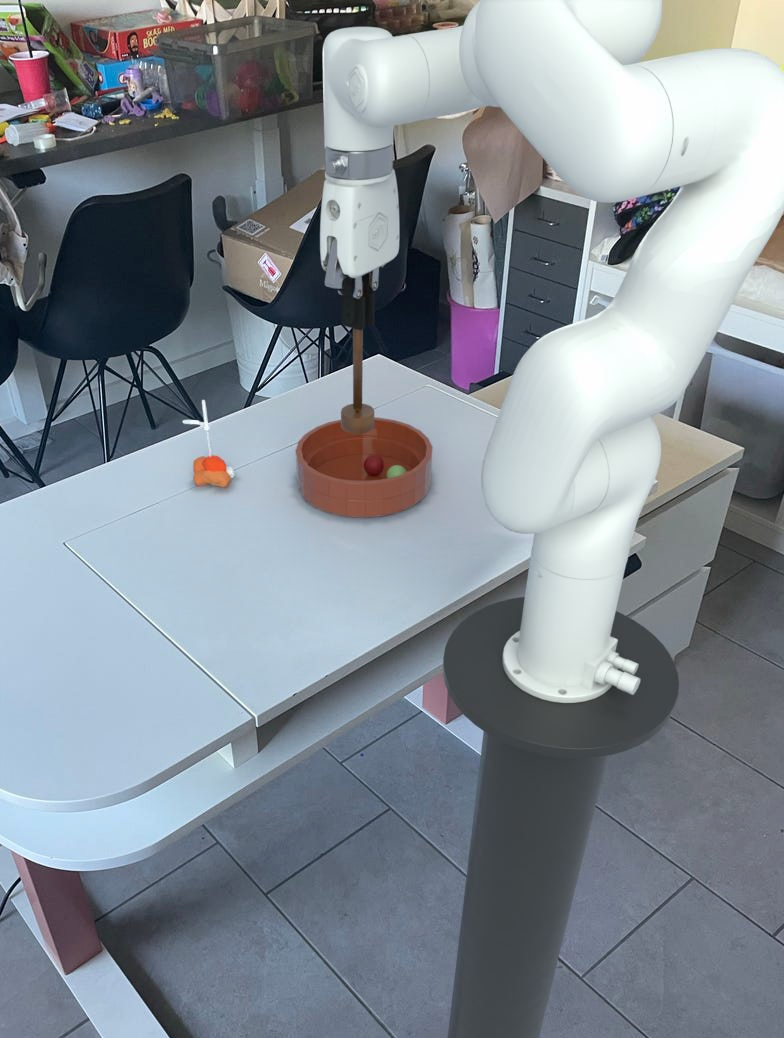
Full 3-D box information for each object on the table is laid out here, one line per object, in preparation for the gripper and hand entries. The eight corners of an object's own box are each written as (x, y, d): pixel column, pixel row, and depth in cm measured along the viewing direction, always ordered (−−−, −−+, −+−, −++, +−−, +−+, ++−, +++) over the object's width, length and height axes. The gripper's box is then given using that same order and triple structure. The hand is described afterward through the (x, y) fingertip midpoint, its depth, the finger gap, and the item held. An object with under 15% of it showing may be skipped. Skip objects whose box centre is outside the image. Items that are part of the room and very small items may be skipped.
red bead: (387, 472, 140) (388, 455, 139) (376, 481, 139) (376, 463, 137) (371, 467, 142) (371, 449, 140) (359, 475, 140) (359, 457, 138)
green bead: (410, 483, 138) (411, 465, 136) (399, 492, 136) (399, 473, 134) (394, 477, 139) (394, 459, 137) (382, 485, 138) (382, 467, 136)
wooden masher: (380, 424, 125) (383, 276, 112) (361, 437, 122) (362, 288, 109) (354, 415, 127) (354, 269, 114) (334, 428, 124) (332, 280, 112)
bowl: (455, 476, 140) (458, 440, 136) (379, 536, 129) (379, 498, 125) (350, 440, 150) (350, 405, 146) (270, 493, 139) (268, 456, 135)
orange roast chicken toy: (209, 460, 147) (201, 388, 139) (244, 484, 141) (237, 410, 133) (177, 473, 144) (166, 401, 136) (211, 498, 138) (202, 423, 130)
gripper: (343, 184, 97) (344, 353, 109) (425, 150, 106) (418, 310, 118) (287, 173, 101) (294, 339, 113) (371, 141, 110) (369, 298, 122)
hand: (358, 323), depth 115 cm, fingers closed on wooden masher, 1 cm apart
